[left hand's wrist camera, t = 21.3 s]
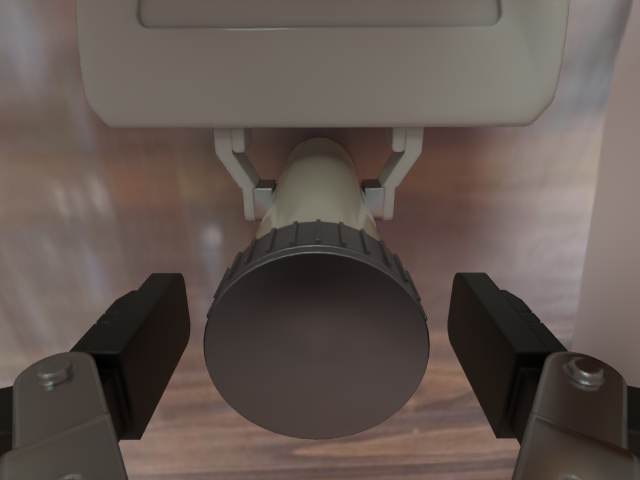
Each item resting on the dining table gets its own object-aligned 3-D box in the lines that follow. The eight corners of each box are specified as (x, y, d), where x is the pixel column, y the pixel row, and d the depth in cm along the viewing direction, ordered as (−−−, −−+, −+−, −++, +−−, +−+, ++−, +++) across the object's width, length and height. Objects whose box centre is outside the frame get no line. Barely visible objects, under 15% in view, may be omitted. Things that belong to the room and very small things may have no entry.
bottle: (365, 156, 26) (448, 299, 9) (334, 215, 28) (355, 432, 11) (303, 124, 26) (267, 216, 9) (274, 187, 27) (195, 371, 10)
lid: (178, 291, 11) (149, 334, 9) (340, 175, 10) (345, 198, 8) (299, 414, 12) (295, 472, 10) (450, 327, 11) (476, 375, 9)
